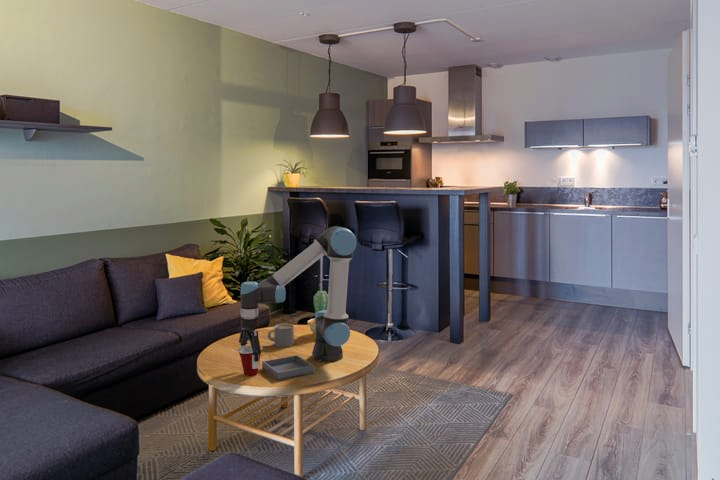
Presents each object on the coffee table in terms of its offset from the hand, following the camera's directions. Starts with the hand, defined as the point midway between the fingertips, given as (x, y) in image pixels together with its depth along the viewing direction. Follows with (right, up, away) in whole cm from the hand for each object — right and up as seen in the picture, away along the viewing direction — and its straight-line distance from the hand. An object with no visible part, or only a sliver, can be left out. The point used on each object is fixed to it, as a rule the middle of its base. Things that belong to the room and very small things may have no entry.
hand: (249, 363), depth 246 cm
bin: (+16, -4, +5) cm, 18 cm away
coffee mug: (+8, 0, +44) cm, 45 cm away
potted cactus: (+27, +2, +62) cm, 67 cm away
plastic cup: (0, -5, +1) cm, 5 cm away
